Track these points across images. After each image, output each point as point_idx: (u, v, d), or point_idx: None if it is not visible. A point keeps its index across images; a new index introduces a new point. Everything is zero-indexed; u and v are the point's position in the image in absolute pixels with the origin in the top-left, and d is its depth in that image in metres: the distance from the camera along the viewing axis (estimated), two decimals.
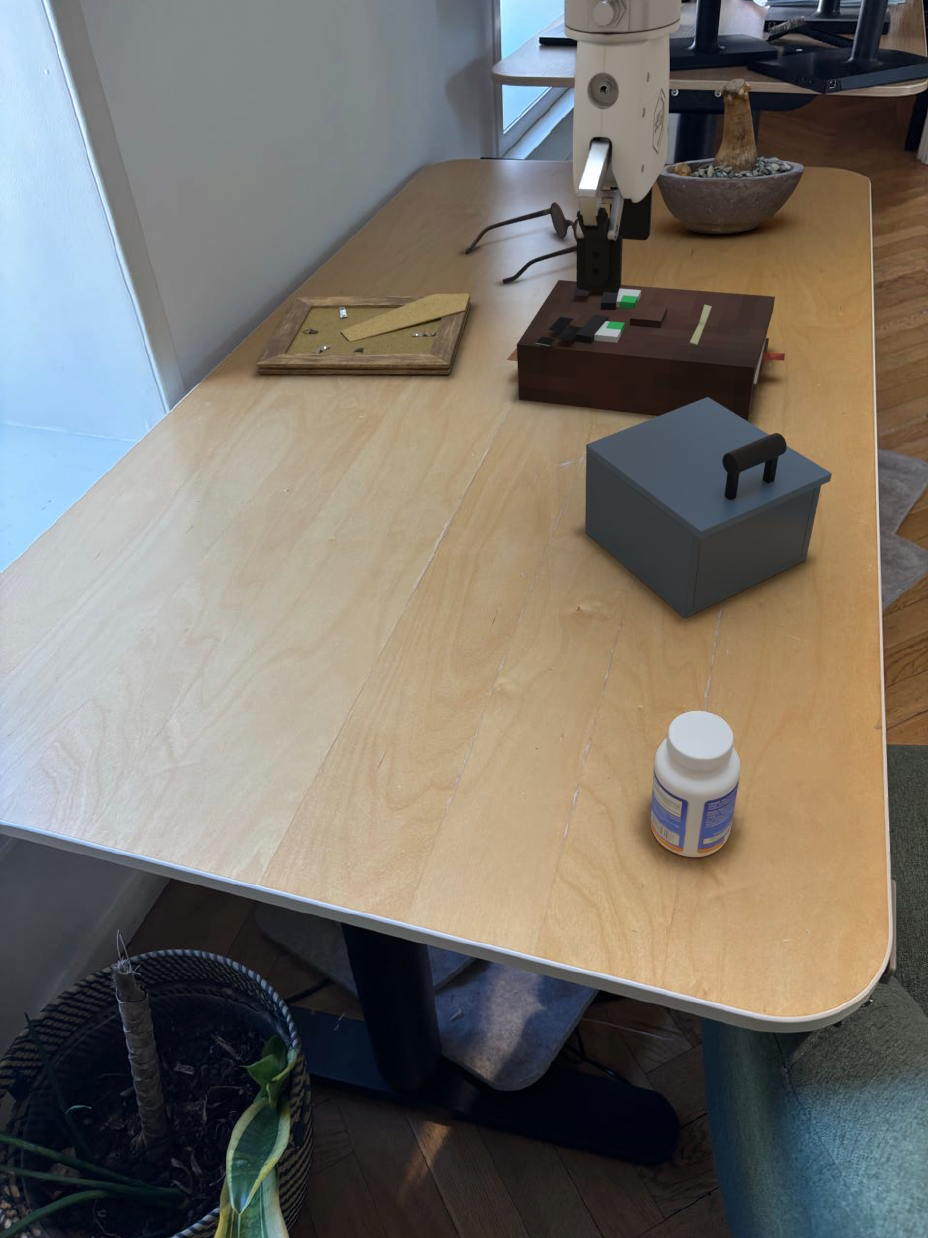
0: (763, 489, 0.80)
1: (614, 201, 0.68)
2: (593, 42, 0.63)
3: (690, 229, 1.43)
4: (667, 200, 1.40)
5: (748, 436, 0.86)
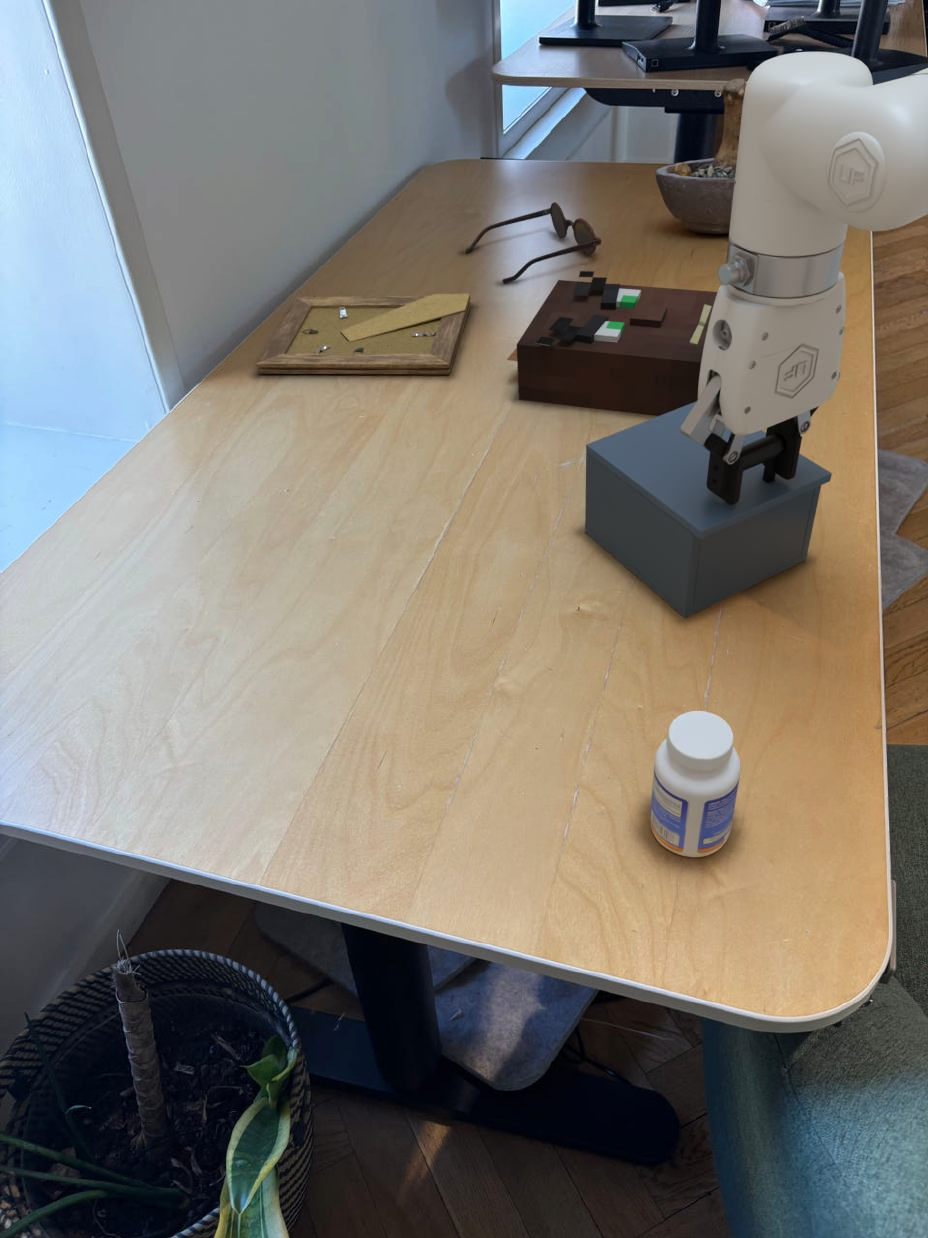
0: (763, 489, 0.80)
1: (731, 433, 0.73)
2: (729, 291, 0.68)
3: (690, 229, 1.43)
4: (667, 200, 1.40)
5: (748, 436, 0.86)
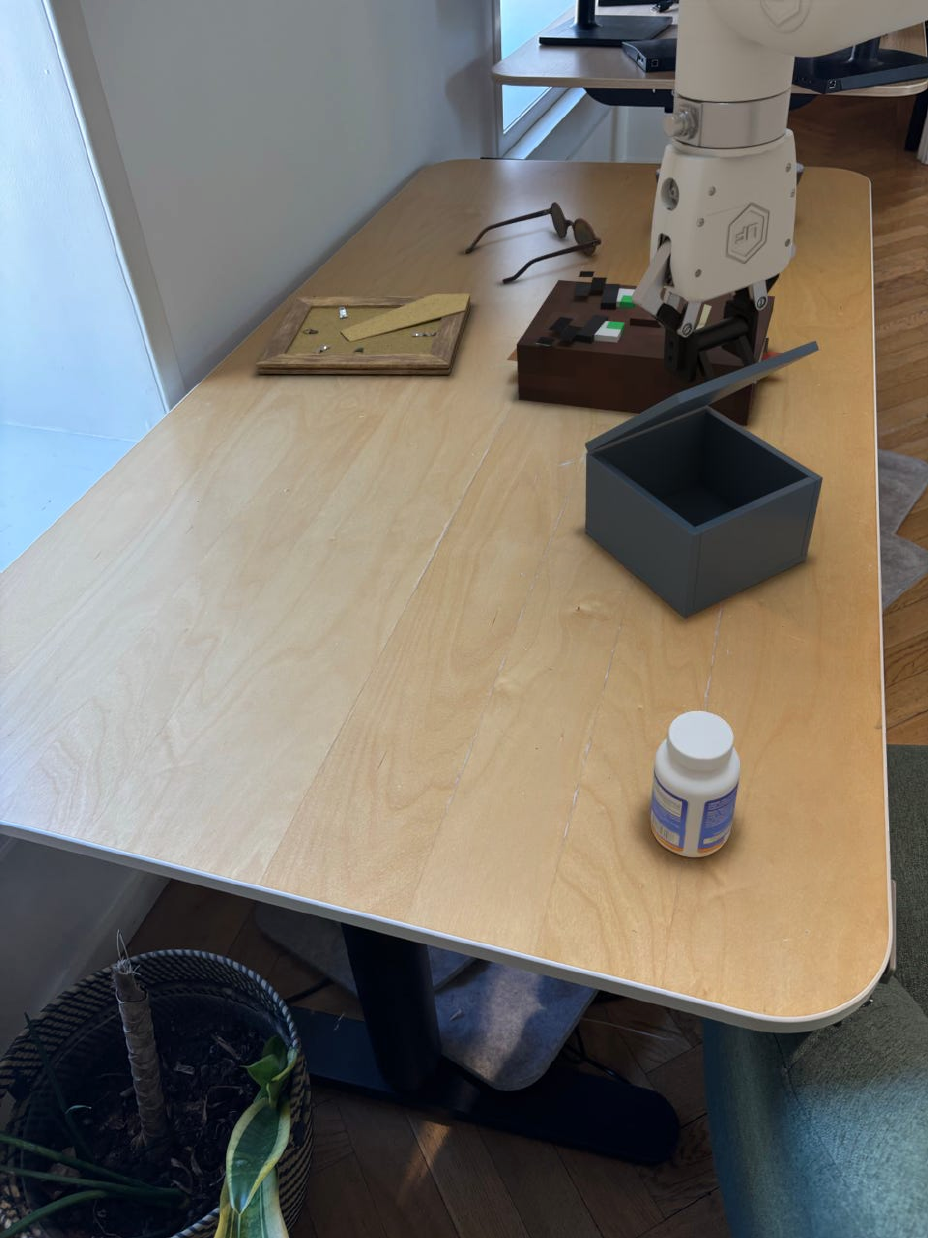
0: None
1: (685, 303, 0.72)
2: (675, 148, 0.67)
3: None
4: None
5: None
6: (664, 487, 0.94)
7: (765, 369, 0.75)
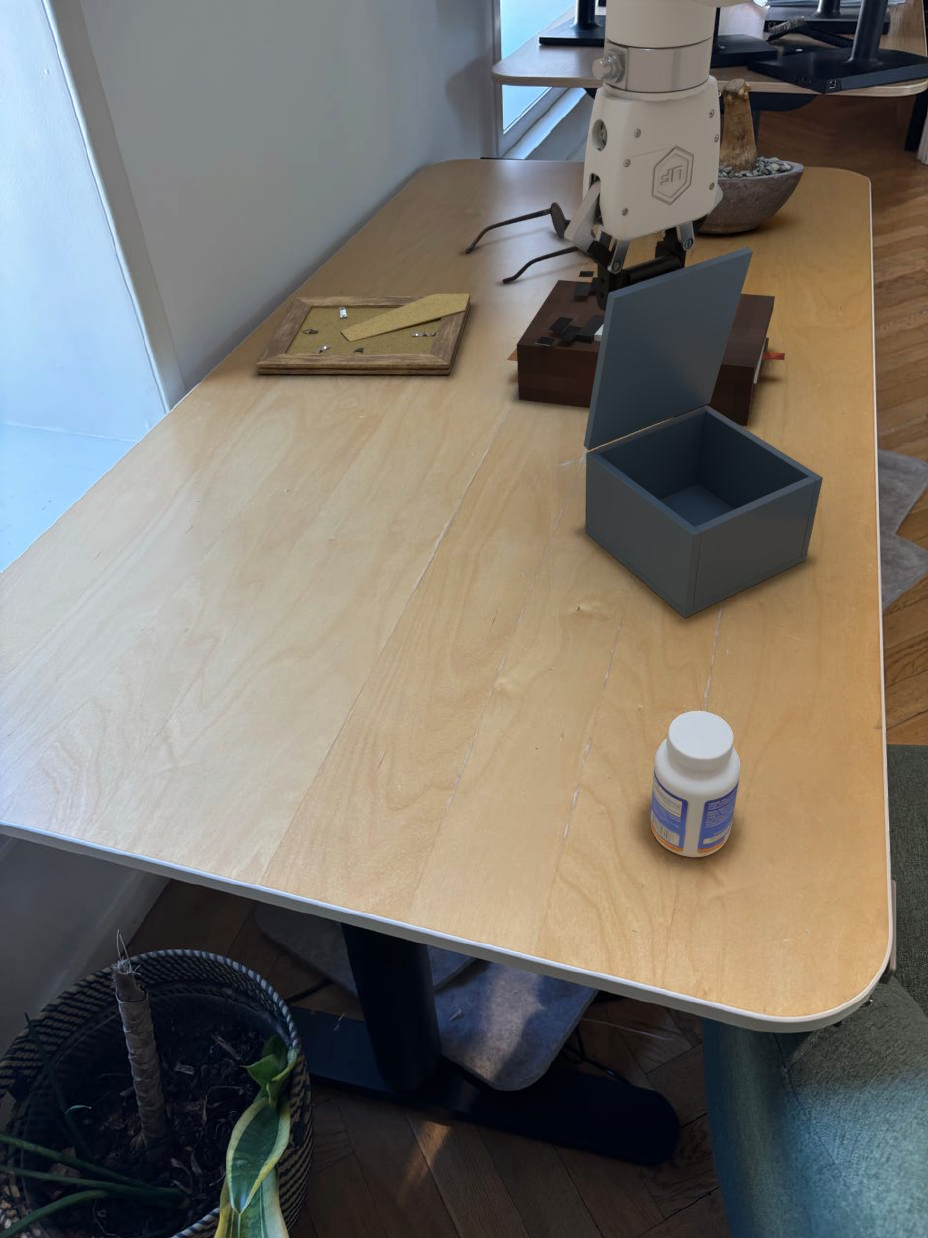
0: None
1: (614, 241, 0.77)
2: (605, 91, 0.71)
3: None
4: None
5: None
6: (664, 487, 0.94)
7: (699, 268, 0.77)
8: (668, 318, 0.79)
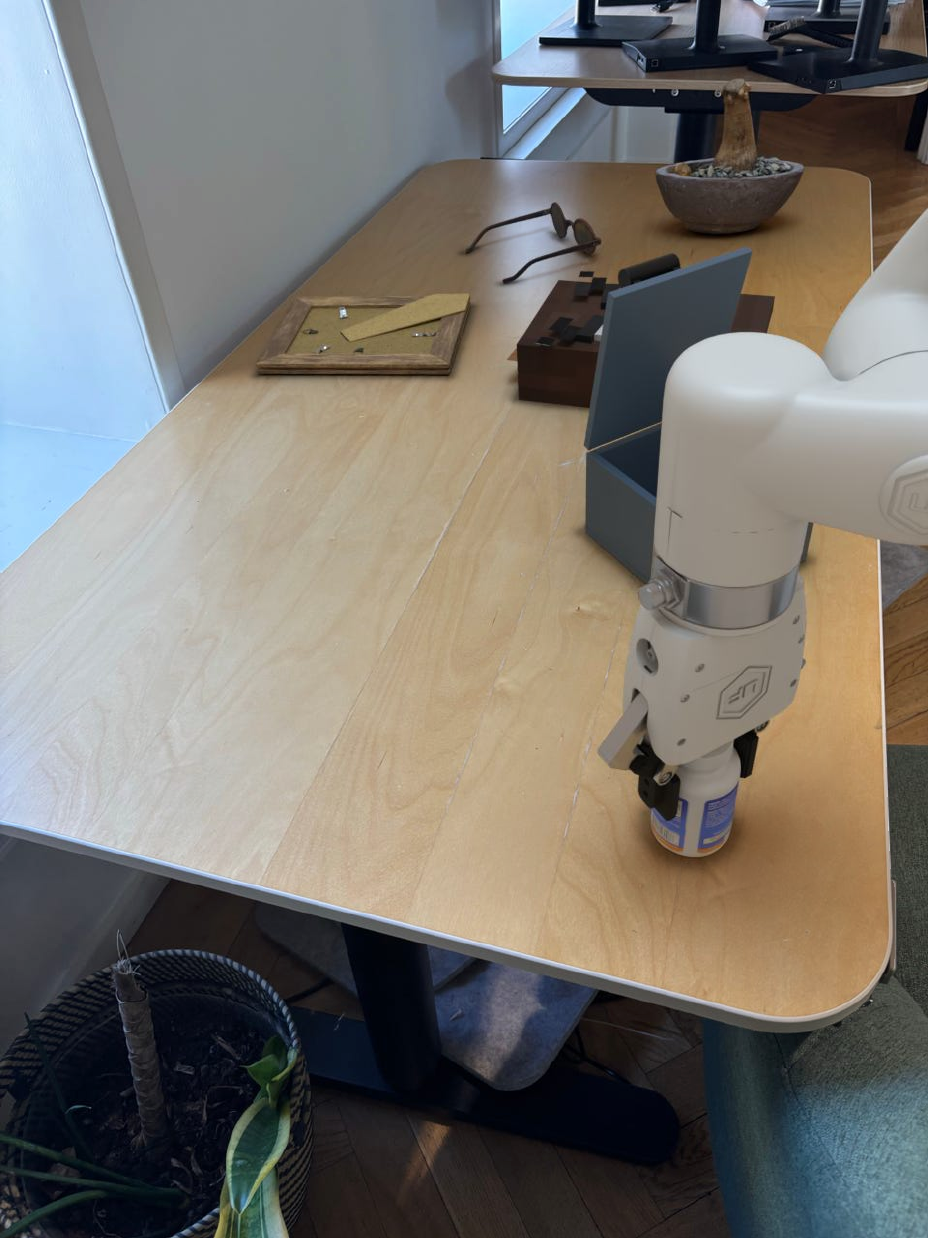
0: None
1: None
2: None
3: (690, 229, 1.43)
4: (667, 200, 1.40)
5: None
6: None
7: (698, 268, 0.77)
8: (668, 318, 0.79)
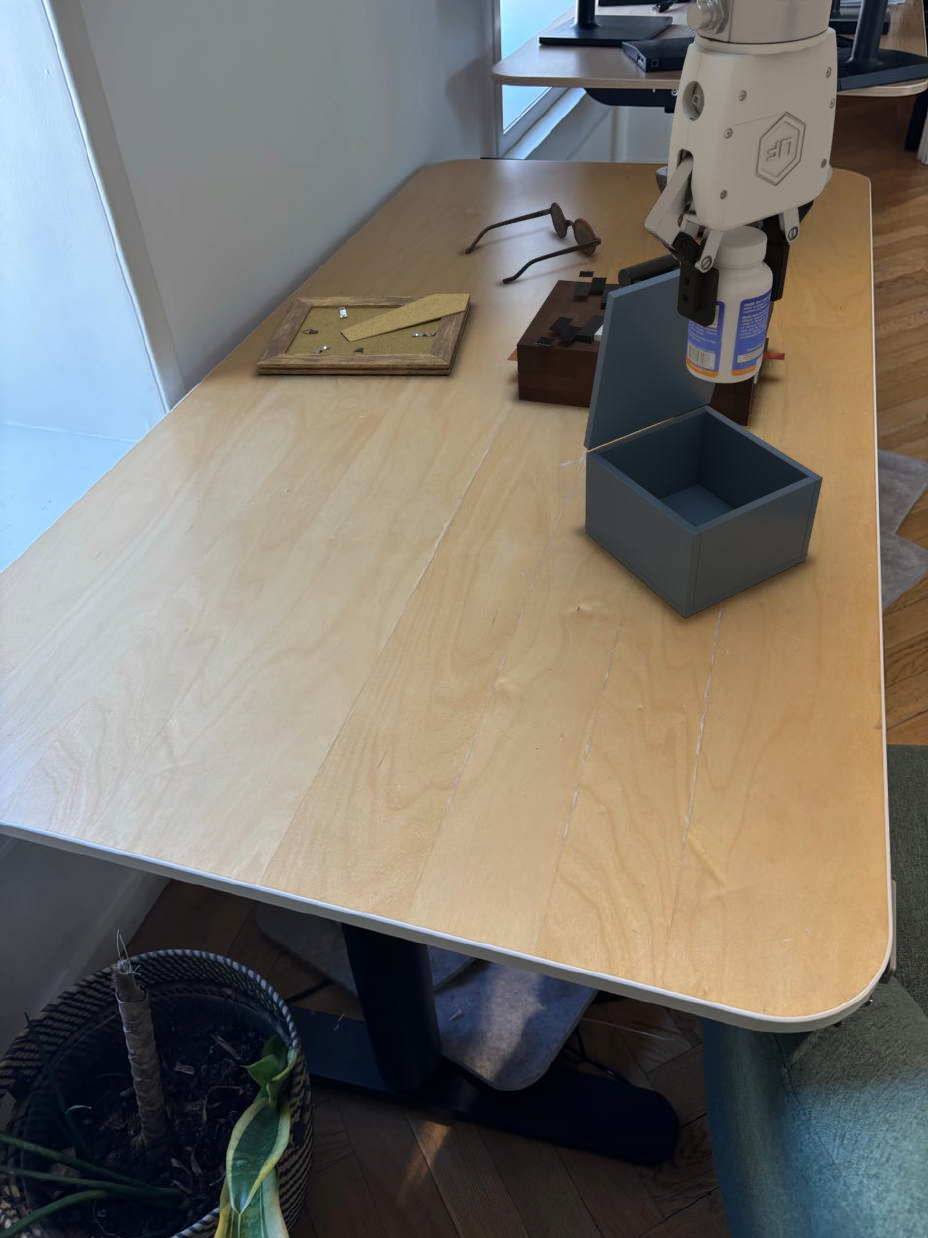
0: None
1: (705, 232, 0.63)
2: (700, 47, 0.58)
3: None
4: None
5: None
6: (664, 487, 0.94)
7: None
8: (668, 318, 0.79)
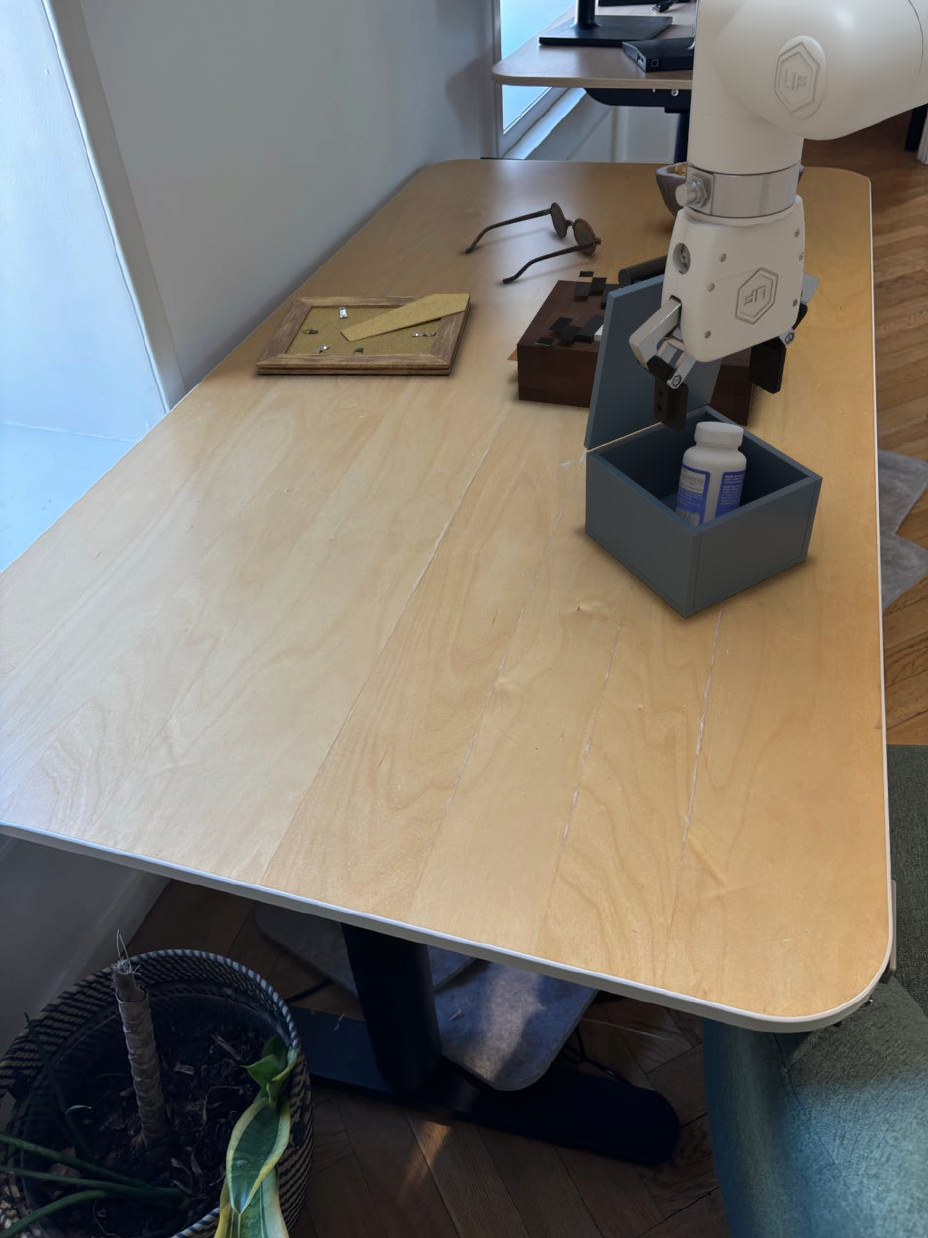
0: None
1: (682, 354, 0.73)
2: (687, 214, 0.69)
3: None
4: (667, 200, 1.40)
5: None
6: (664, 487, 0.94)
7: None
8: None
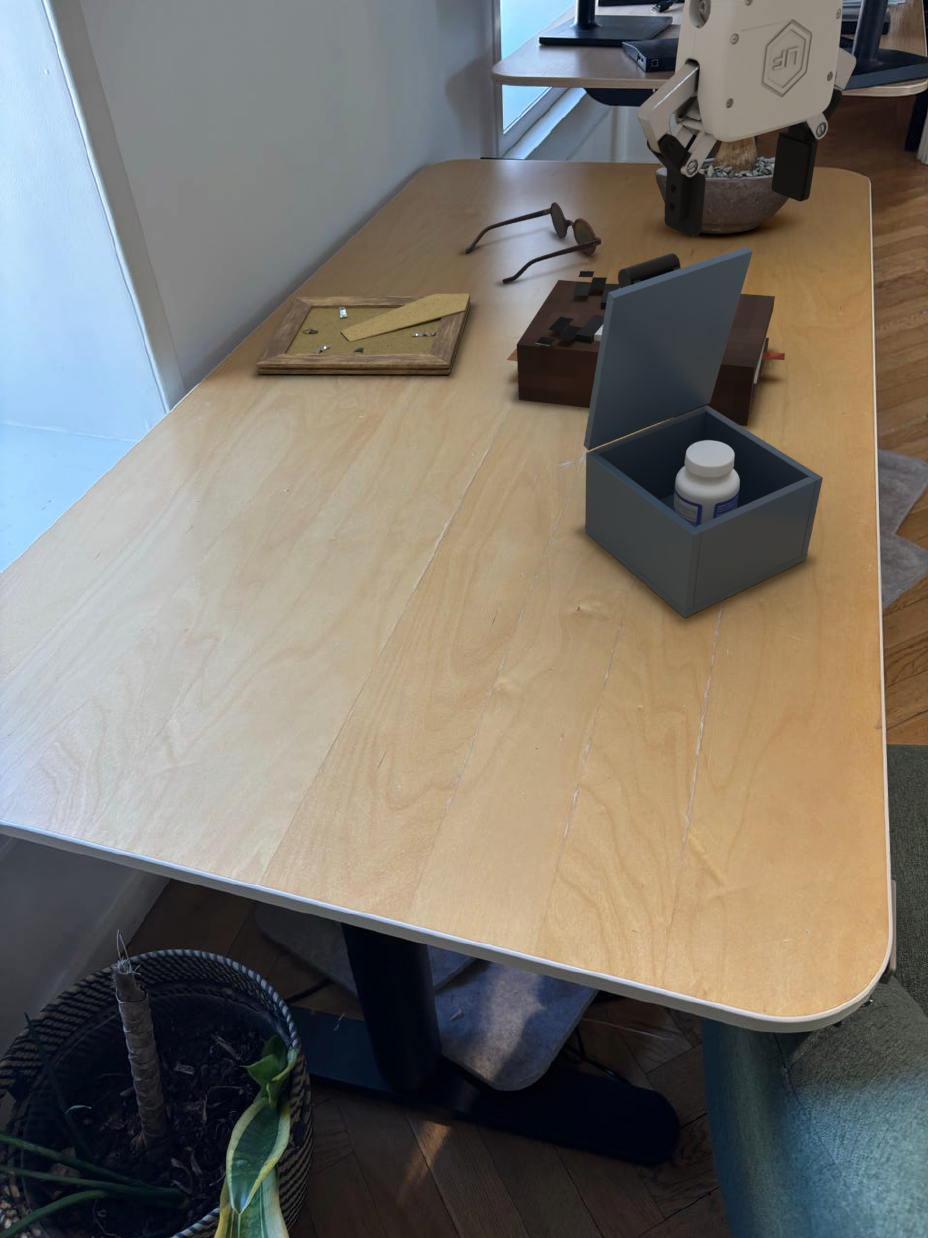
0: None
1: (699, 134, 0.63)
2: None
3: None
4: None
5: None
6: (664, 487, 0.94)
7: (698, 268, 0.77)
8: (668, 318, 0.79)
